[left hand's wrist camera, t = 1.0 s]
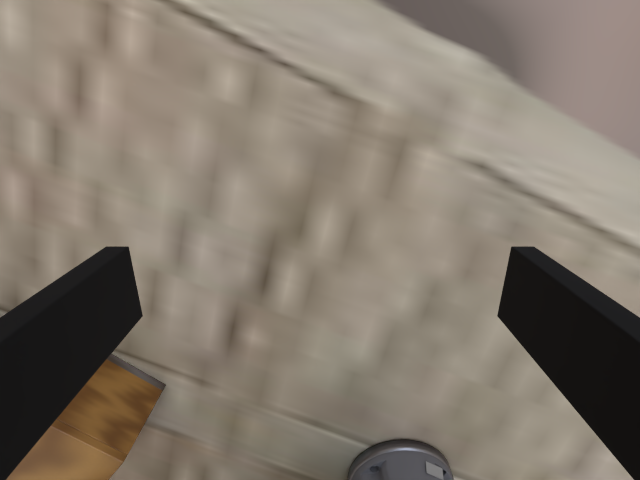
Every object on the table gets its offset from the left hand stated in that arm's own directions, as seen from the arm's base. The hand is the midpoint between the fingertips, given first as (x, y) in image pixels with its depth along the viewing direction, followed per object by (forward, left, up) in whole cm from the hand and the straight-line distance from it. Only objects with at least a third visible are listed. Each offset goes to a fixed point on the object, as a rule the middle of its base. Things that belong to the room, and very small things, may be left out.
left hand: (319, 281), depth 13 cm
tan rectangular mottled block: (-31, +28, -27) cm, 50 cm away
